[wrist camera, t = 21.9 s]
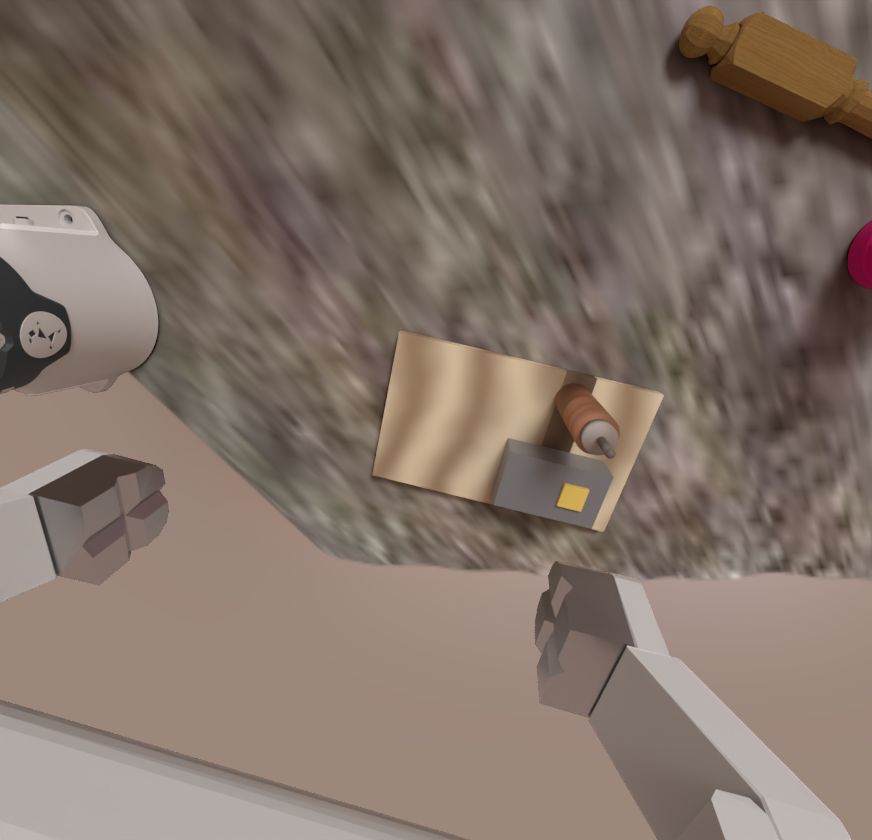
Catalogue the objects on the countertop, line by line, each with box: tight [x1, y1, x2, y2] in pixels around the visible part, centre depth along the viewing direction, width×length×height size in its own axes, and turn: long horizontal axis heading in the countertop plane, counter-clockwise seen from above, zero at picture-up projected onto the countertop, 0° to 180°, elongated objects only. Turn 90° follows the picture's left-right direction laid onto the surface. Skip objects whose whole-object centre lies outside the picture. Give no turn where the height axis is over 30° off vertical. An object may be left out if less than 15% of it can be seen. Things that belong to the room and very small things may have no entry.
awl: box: [555, 383, 620, 459], centre depth 35 cm, size 3×3×13 cm
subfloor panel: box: [372, 330, 664, 532], centre depth 43 cm, size 26×16×1 cm, turn 77°
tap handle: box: [679, 6, 872, 139], centre depth 31 cm, size 3×3×30 cm
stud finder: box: [493, 438, 614, 529], centre depth 42 cm, size 10×6×4 cm, turn 77°
